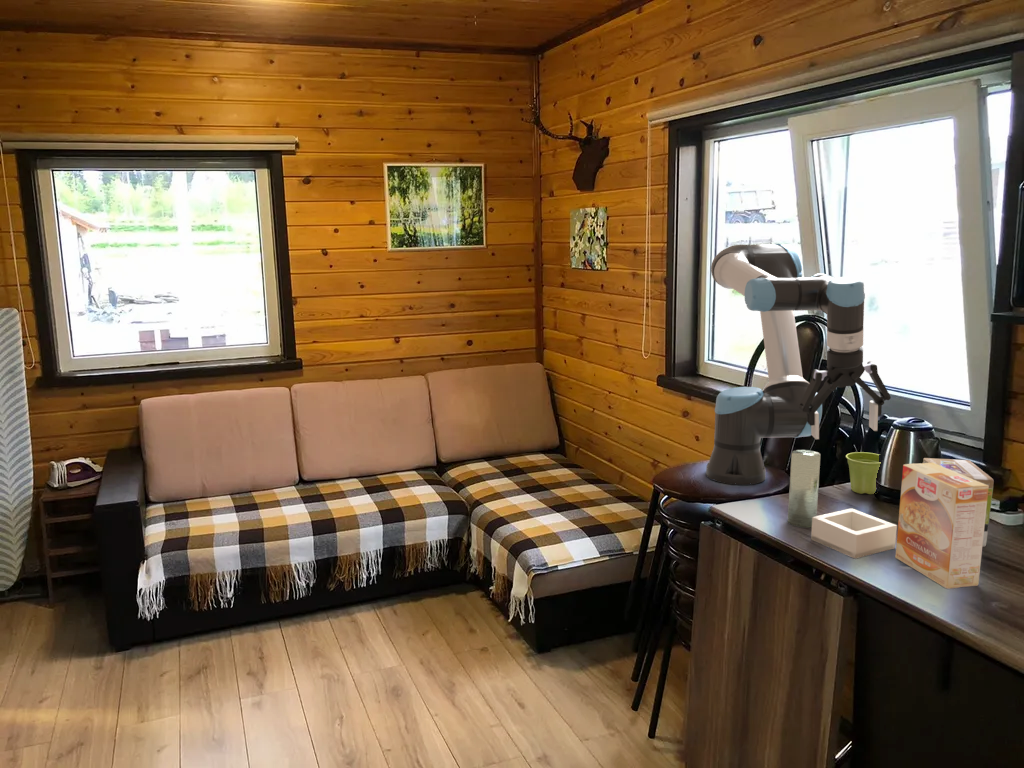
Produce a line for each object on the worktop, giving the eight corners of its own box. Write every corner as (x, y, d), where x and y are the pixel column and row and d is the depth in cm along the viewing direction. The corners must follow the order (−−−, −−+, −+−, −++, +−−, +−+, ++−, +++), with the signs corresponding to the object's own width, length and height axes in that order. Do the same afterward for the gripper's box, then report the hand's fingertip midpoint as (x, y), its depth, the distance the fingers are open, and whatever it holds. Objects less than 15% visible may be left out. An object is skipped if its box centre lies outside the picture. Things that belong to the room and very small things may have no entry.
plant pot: (868, 499, 199) (871, 464, 198) (835, 488, 207) (837, 455, 206) (892, 492, 204) (895, 458, 202) (859, 482, 212) (862, 450, 210)
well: (810, 539, 175) (812, 517, 174) (849, 530, 180) (851, 508, 179) (855, 558, 165) (856, 535, 164) (895, 548, 170) (896, 525, 169)
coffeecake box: (893, 557, 165) (901, 463, 161) (925, 554, 167) (933, 461, 163) (945, 589, 151) (955, 487, 147) (980, 586, 152) (990, 484, 148)
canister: (781, 520, 186) (785, 452, 183) (801, 516, 189) (805, 448, 185) (801, 529, 181) (806, 458, 178) (821, 524, 183) (826, 455, 180)
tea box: (988, 548, 170) (995, 479, 167) (935, 544, 172) (941, 476, 169) (964, 522, 184) (970, 458, 181) (915, 519, 186) (921, 456, 183)
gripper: (795, 360, 181) (796, 447, 189) (908, 344, 181) (905, 431, 189) (783, 349, 188) (785, 433, 196) (892, 333, 188) (889, 418, 196)
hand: (844, 432), depth 192 cm, fingers open, 13 cm apart
